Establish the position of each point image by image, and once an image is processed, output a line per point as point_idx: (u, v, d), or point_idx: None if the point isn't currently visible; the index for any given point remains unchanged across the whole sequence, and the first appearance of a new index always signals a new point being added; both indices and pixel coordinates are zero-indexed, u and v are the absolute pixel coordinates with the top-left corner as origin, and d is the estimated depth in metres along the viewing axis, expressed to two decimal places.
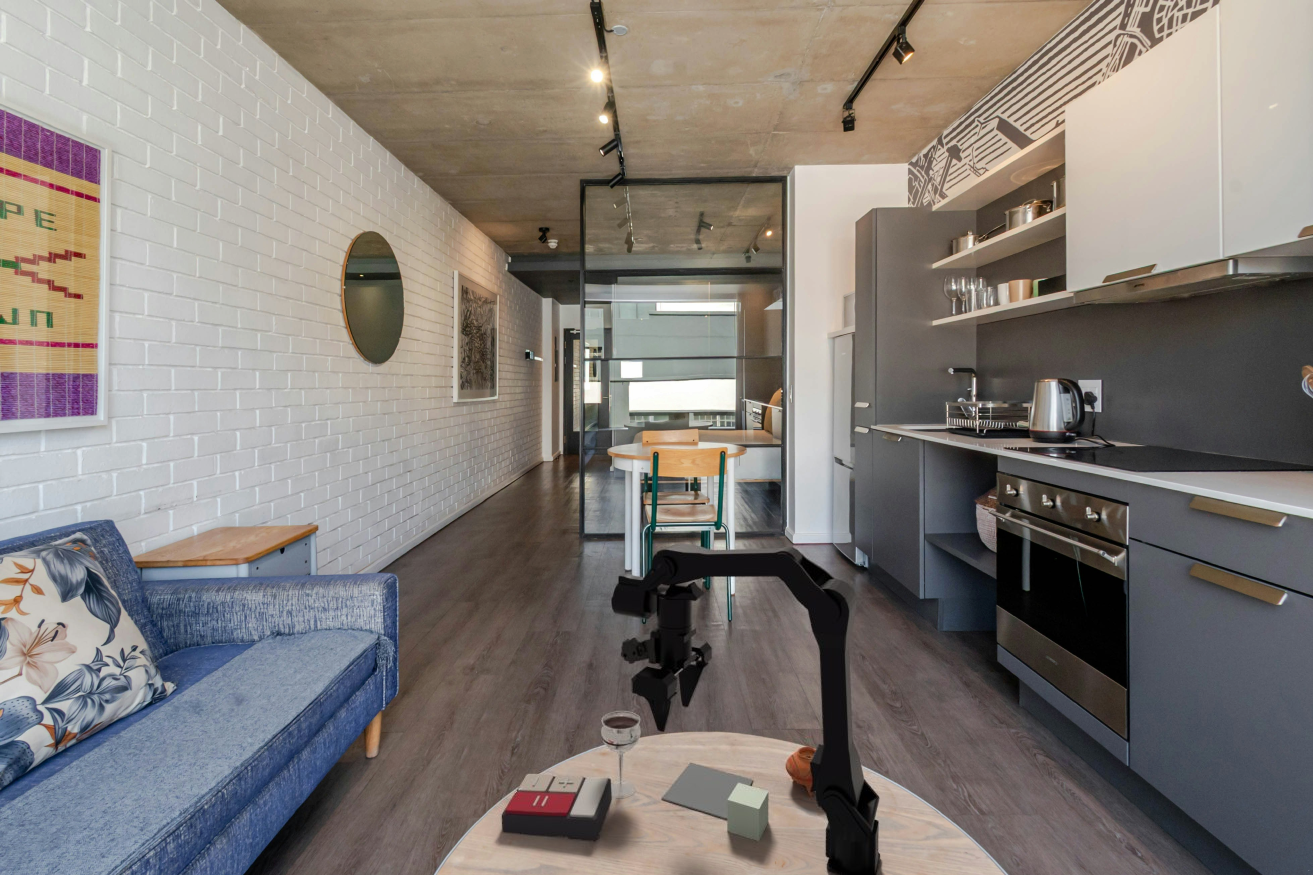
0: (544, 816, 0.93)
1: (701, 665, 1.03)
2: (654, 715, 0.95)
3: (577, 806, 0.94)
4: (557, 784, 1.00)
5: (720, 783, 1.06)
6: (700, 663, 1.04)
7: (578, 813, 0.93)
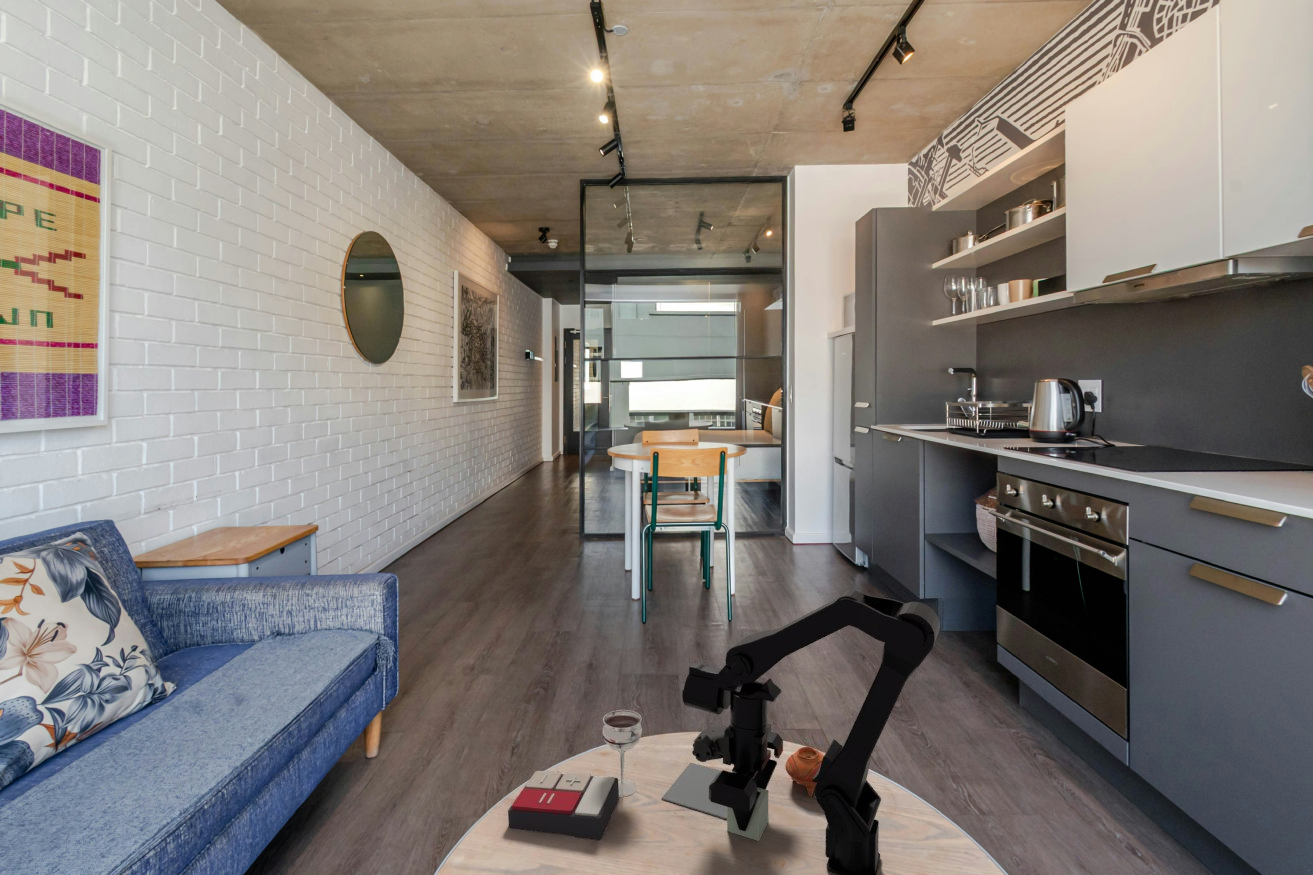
0: (549, 813, 0.93)
1: (770, 766, 0.97)
2: (736, 814, 0.92)
3: (582, 804, 0.95)
4: (564, 782, 1.01)
5: None
6: (768, 763, 0.98)
7: (582, 811, 0.93)
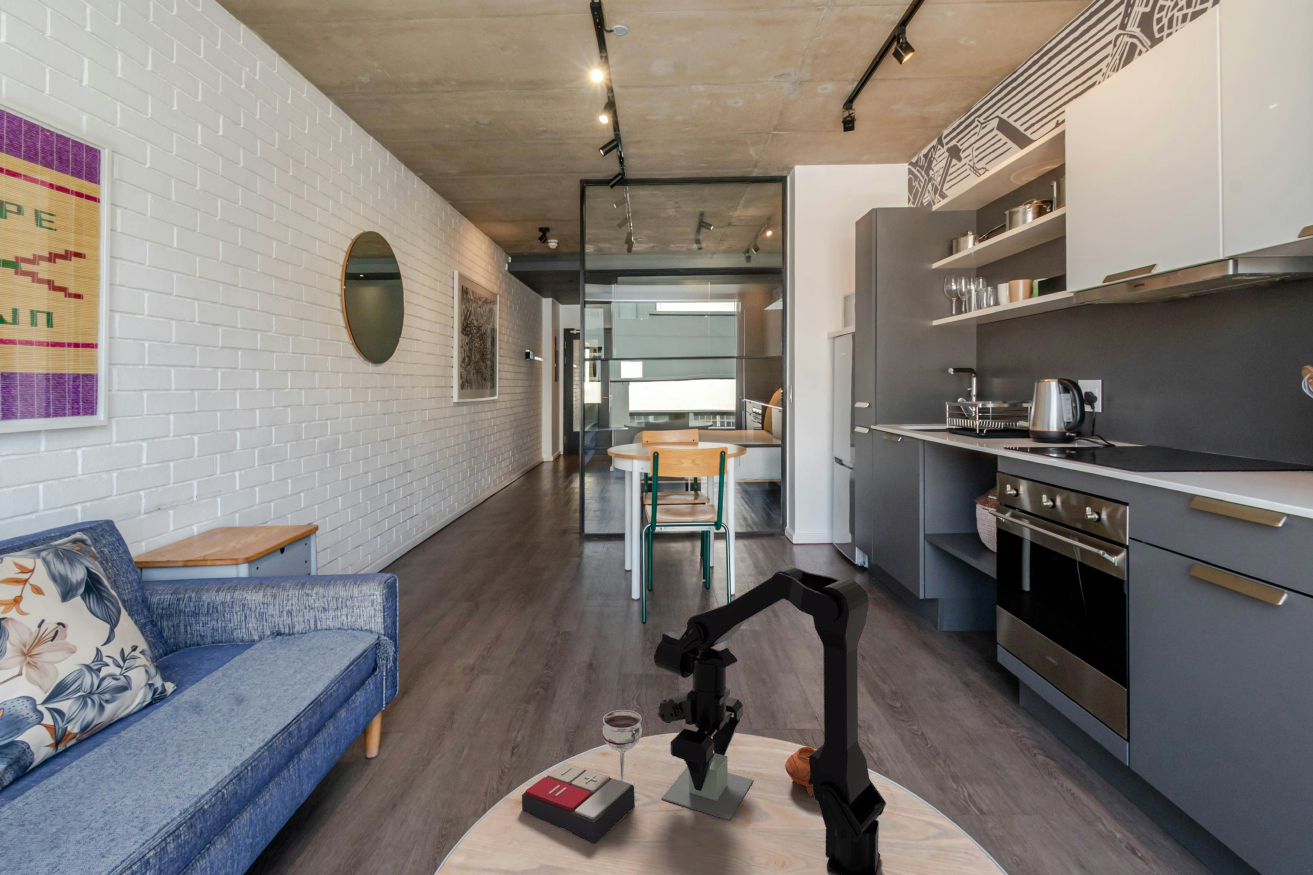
0: (553, 806, 0.95)
1: (733, 723, 1.08)
2: (692, 775, 1.00)
3: (585, 804, 0.95)
4: (582, 778, 1.02)
5: None
6: (732, 720, 1.09)
7: (581, 811, 0.93)
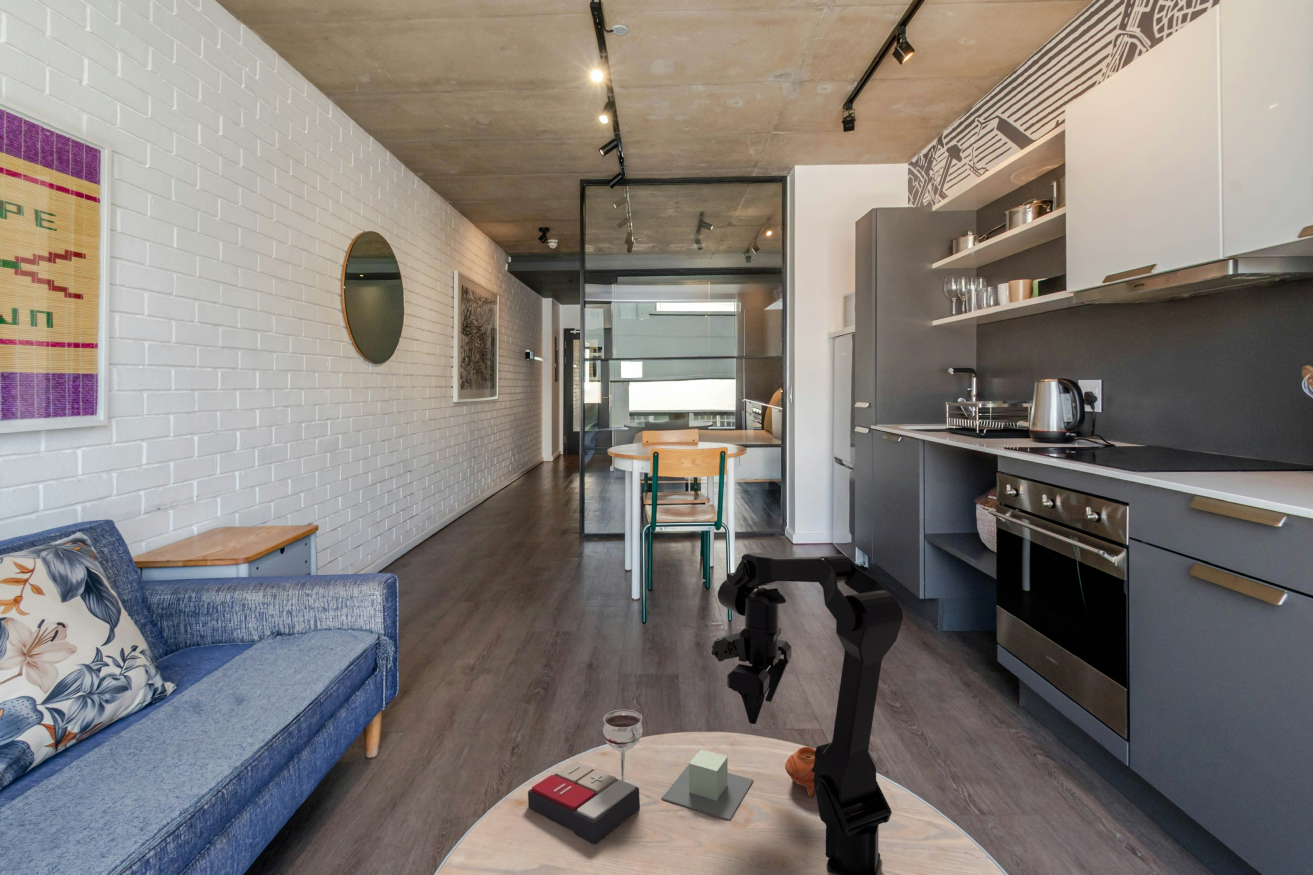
0: (556, 804, 0.96)
1: (783, 663, 1.11)
2: (747, 709, 1.03)
3: (588, 804, 0.95)
4: (588, 778, 1.02)
5: None
6: (781, 661, 1.12)
7: (583, 811, 0.93)
